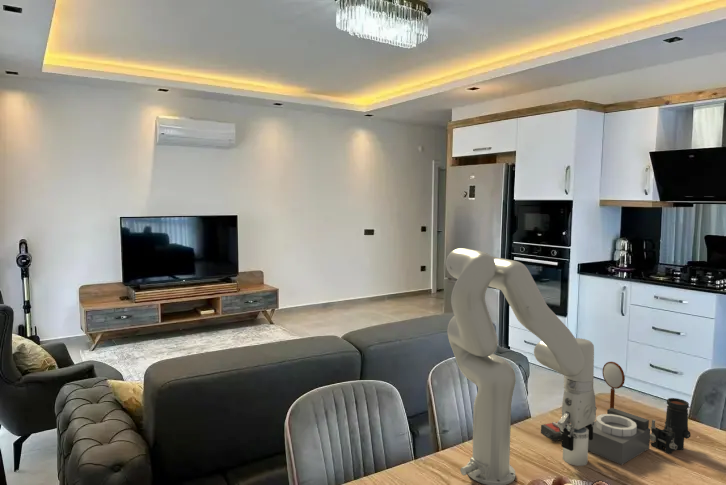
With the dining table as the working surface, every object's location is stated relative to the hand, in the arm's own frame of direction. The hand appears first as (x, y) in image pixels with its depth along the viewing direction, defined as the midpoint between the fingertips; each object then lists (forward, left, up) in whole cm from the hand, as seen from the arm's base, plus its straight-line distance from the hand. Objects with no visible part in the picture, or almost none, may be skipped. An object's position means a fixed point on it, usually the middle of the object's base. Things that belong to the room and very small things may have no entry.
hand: (577, 443), depth 139 cm
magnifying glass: (+32, +7, -5) cm, 34 cm away
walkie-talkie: (+14, +10, -5) cm, 18 cm away
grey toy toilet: (+15, -3, -5) cm, 16 cm away
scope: (+30, -12, -5) cm, 33 cm away
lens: (-1, 0, -5) cm, 5 cm away
